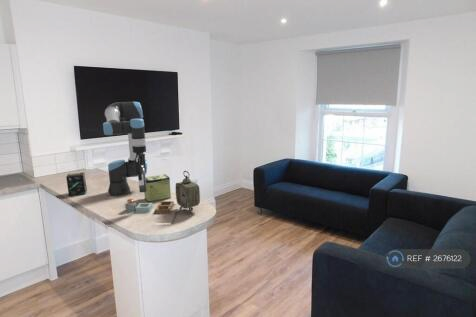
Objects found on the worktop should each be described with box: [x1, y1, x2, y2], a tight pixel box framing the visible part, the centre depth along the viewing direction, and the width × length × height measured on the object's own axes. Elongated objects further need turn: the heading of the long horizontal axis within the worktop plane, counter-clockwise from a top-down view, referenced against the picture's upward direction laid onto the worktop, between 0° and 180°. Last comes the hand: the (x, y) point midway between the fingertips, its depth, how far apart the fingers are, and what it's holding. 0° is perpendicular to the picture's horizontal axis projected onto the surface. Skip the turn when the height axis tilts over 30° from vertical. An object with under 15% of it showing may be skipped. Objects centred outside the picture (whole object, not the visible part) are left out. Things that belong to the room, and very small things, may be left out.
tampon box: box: [65, 171, 88, 197], centre depth 229 cm, size 11×9×15 cm
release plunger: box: [126, 198, 135, 205], centre depth 191 cm, size 4×4×5 cm
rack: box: [153, 200, 176, 215], centre depth 193 cm, size 16×10×3 cm, turn 1°
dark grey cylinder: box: [138, 165, 146, 193], centre depth 189 cm, size 4×4×16 cm
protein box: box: [143, 173, 172, 203], centre depth 213 cm, size 10×16×16 cm
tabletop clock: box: [175, 170, 201, 215], centre depth 190 cm, size 14×9×25 cm, turn 37°
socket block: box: [124, 201, 155, 215], centre depth 192 cm, size 12×15×5 cm
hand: (142, 183), depth 189 cm, fingers closed on dark grey cylinder, 4 cm apart
